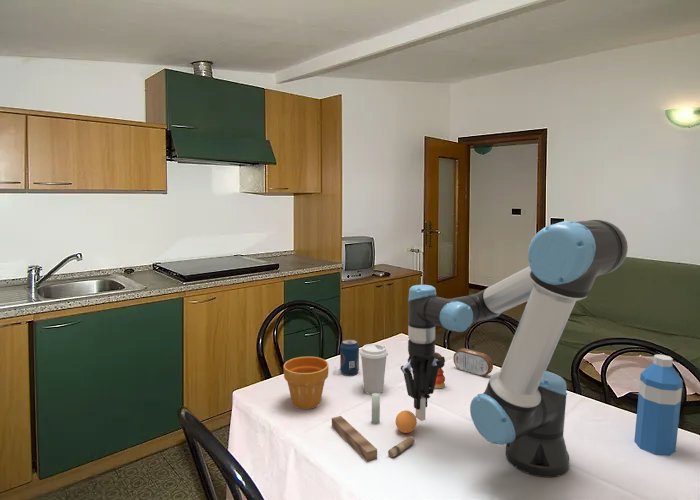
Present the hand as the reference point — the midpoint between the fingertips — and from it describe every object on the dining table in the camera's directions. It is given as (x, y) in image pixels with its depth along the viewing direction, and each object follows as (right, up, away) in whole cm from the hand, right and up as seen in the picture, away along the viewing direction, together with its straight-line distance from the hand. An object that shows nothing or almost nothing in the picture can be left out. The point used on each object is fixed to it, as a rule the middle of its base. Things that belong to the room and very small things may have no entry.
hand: (420, 418), depth 137 cm
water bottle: (+62, -4, -10) cm, 62 cm away
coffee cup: (-12, +1, +25) cm, 28 cm away
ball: (-5, 0, -3) cm, 5 cm away
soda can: (-21, +3, +39) cm, 44 cm away
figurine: (+10, +1, +28) cm, 29 cm away
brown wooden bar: (-20, -4, -8) cm, 21 cm away
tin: (+25, +3, +39) cm, 47 cm away
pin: (-4, -3, -9) cm, 10 cm away
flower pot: (-34, -1, +15) cm, 37 cm away
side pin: (-13, -2, +3) cm, 13 cm away
